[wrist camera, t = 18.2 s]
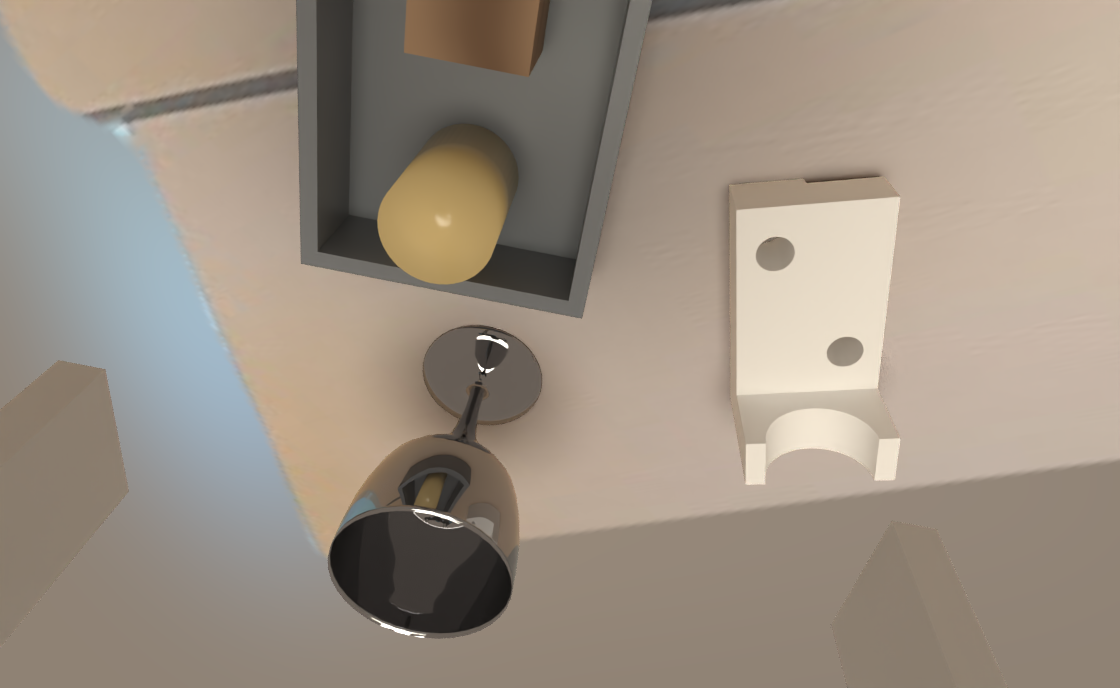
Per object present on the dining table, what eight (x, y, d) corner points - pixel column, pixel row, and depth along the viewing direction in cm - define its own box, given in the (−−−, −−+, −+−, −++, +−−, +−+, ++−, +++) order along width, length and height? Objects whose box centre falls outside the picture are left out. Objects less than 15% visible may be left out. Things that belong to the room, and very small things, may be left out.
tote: (341, -176, 30) (293, -183, 26) (670, -108, 31) (675, -105, 26) (336, 222, 40) (300, 263, 36) (588, 271, 40) (582, 318, 36)
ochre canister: (415, 210, 39) (375, 272, 33) (422, 114, 36) (380, 162, 30) (511, 229, 39) (488, 294, 33) (525, 134, 36) (503, 187, 30)
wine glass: (473, 293, 41) (399, 478, 29) (576, 379, 44) (551, 585, 31) (389, 375, 45) (291, 572, 32) (490, 450, 47) (436, 661, 35)
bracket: (856, 389, 43) (894, 480, 37) (729, 395, 44) (745, 484, 38) (878, 169, 36) (930, 233, 30) (728, 182, 37) (747, 247, 31)
